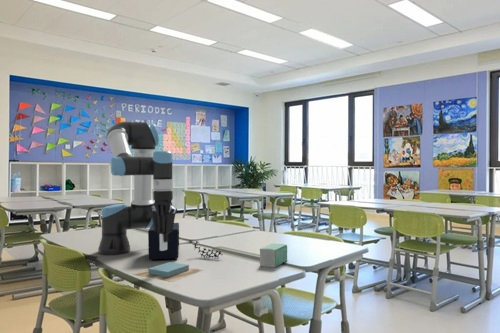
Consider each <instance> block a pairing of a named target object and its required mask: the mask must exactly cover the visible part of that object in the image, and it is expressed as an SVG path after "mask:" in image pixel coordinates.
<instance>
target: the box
mask: <svg viewBox="0 0 500 333" xmlns="http://www.w3.org/2000/svg"><path fill="white" fill-rule="evenodd" d="M285 261H286V262H288V245H287V244H284V243H271V244H269V245H266V246H263V247H260V248H259V266H261V267H266V268H276V267H279V266H280V265H282V264H284V263H286V262H285ZM283 262H284V263H283Z"/></svg>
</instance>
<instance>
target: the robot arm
mask: <svg viewBox="0 0 500 333" xmlns="http://www.w3.org/2000/svg"><path fill="white" fill-rule="evenodd" d="M106 141H107V142H106V143H107V144H108V146H110V148H111V152H112V155H113V156H112V157H111V158H110V174H111V175H112V176H120V177H123V176H124V177H125V176H134V177H133V181H134V182H133V200H131V202H130V206H128V205H127V204H126V203H118V204H117V203H116V204H111V205H107V206H105V207H103V208H102V209H101V217H100V218H101V239H100V241H99V244H98V245H99V246H98V249H97V253H98V254H99V255H107V256H108V255H110V256H112V255H121V254H125V253H126V254H127V253H129V252H131V245H130V241H129V238H128V236H127V231H128V230H140V229H150V227H151V226H152V224H153V226H154V231H155V232H158V234H159V241H160V251H164V250H167V242H168V233H170V232H172V231H173V225H174V223H175V217H176V213H177V212H178V208H175V207H174V206H173V202H172V200H173V198H174V197H173V196H174V191H173V187H174V186H173V185H174V184H173V161H174V159H173V153H172V152H171V151H168V150H156V147H157V146H159V142H160V138H159V131H158V128H157V125H156V124H155V123H153V122H143V121H142V122H141V121H139V122H138V121H121V122H118V123H115V124H114V125H112V126H111V127H110V128H109V129H108V130H107V133H106ZM130 147H131V148H130ZM132 152H133V153H134V156H133V154H132ZM152 177H153V178H152ZM152 186H153V187H152ZM152 188H153V189H152ZM152 190H154V191H153V192H152ZM152 197H153V198H152Z"/></svg>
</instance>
